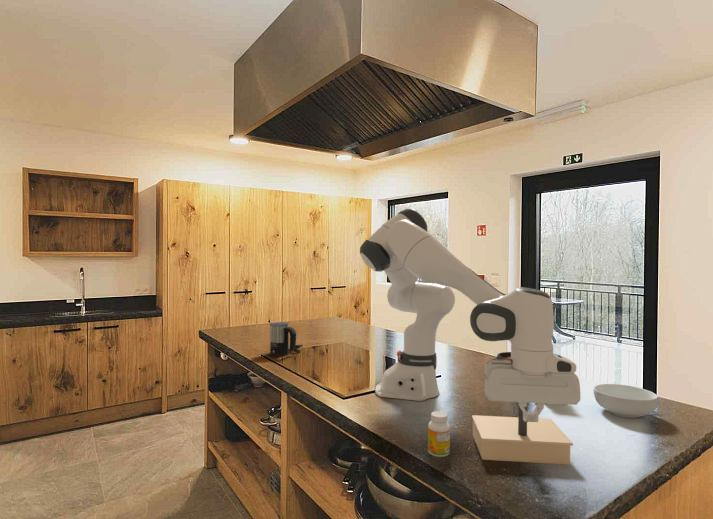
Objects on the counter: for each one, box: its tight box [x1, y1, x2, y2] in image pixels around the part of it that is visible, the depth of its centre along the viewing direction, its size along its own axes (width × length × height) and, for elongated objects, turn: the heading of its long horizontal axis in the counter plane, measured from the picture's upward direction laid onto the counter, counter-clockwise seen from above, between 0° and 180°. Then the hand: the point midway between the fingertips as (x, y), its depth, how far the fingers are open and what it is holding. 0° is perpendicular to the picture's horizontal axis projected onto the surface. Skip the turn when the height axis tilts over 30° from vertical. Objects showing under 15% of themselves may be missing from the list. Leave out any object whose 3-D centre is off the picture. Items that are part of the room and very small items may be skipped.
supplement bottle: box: [427, 410, 451, 458], centre depth 107 cm, size 5×5×10 cm
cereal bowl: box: [593, 383, 659, 419], centre depth 135 cm, size 17×17×7 cm
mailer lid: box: [471, 402, 574, 447], centre depth 109 cm, size 21×15×10 cm
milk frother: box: [269, 321, 303, 357], centre depth 211 cm, size 14×16×15 cm
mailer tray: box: [472, 420, 571, 465], centre depth 109 cm, size 20×14×5 cm
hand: (530, 421), depth 98 cm, fingers closed
